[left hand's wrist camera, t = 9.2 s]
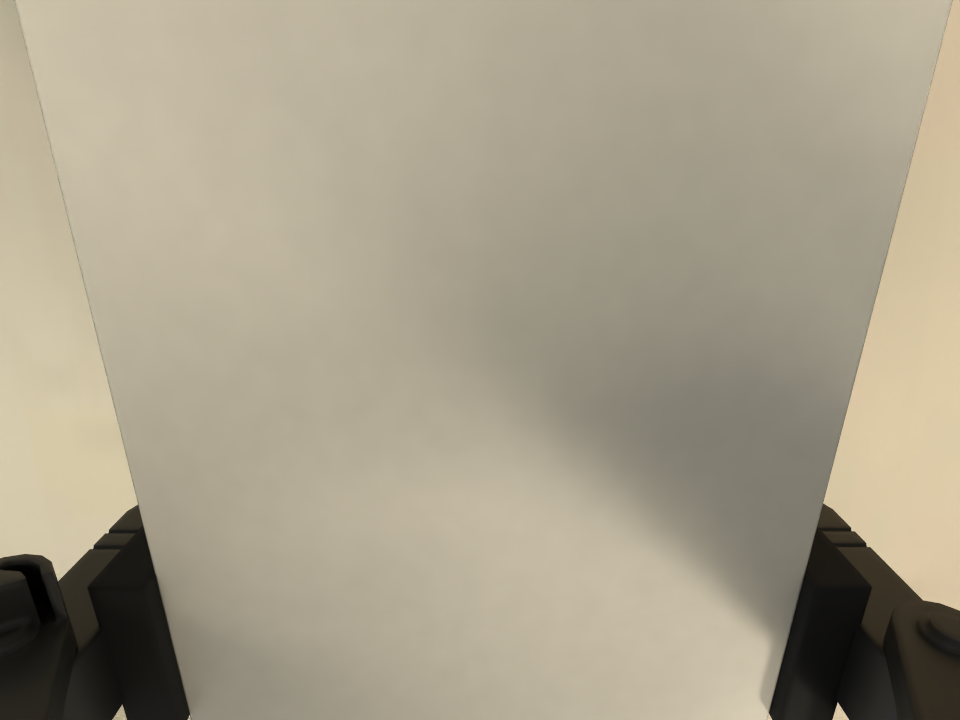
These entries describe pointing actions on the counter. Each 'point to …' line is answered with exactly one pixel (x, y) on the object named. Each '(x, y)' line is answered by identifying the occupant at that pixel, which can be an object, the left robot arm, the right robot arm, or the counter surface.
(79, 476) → the counter surface
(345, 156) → the wide beam
